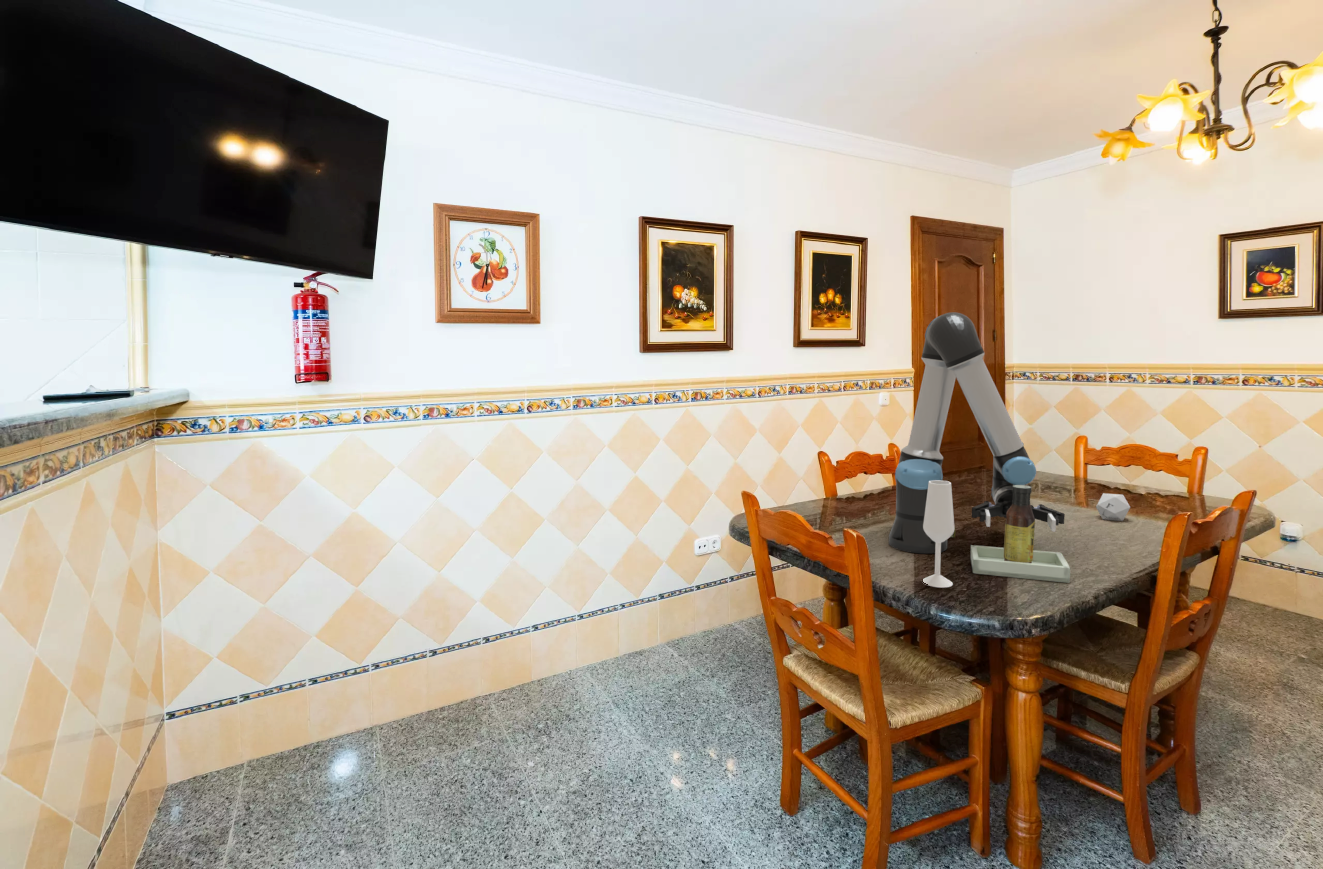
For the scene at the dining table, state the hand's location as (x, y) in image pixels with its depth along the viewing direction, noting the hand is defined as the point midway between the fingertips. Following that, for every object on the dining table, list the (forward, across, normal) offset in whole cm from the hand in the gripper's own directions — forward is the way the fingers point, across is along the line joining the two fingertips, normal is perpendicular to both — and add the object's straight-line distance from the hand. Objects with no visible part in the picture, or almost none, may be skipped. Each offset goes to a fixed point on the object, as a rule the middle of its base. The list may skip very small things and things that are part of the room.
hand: (1020, 523), depth 149 cm
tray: (-3, 0, -12) cm, 13 cm away
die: (-62, -32, -13) cm, 71 cm away
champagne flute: (+12, +18, -13) cm, 25 cm away
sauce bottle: (-3, 0, -12) cm, 12 cm away
